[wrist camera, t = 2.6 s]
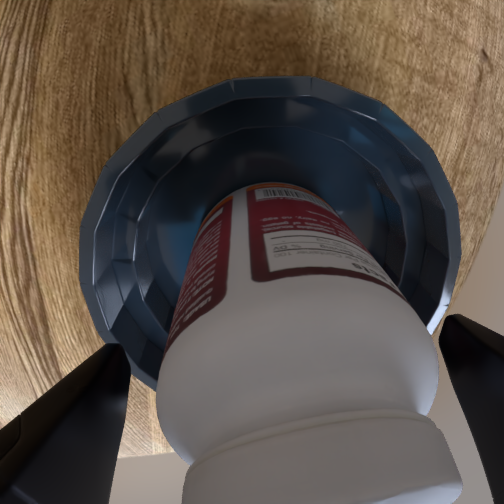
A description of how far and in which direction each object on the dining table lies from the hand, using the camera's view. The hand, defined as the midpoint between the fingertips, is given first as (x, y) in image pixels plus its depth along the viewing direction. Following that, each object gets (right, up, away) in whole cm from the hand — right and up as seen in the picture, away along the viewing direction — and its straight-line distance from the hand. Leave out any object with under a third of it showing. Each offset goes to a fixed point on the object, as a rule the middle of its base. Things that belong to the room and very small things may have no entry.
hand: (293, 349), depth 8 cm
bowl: (0, +3, +6) cm, 6 cm away
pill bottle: (0, +3, +6) cm, 6 cm away
